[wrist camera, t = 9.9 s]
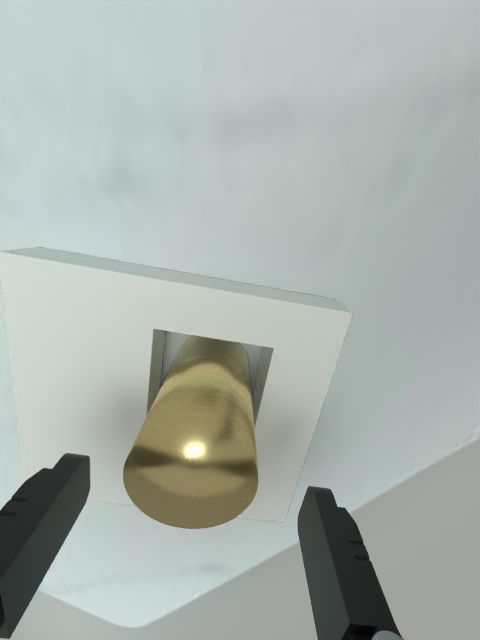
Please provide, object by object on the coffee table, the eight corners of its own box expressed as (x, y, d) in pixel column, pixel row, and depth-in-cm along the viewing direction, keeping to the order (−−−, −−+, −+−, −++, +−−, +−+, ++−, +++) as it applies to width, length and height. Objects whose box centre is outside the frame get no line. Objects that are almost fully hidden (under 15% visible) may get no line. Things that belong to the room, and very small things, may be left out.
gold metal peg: (255, 337, 18) (271, 437, 9) (241, 400, 19) (245, 534, 11) (179, 325, 18) (125, 417, 9) (172, 390, 19) (120, 520, 11)
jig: (333, 299, 17) (353, 313, 14) (278, 485, 22) (284, 522, 19) (40, 247, 16) (-3, 251, 13) (52, 456, 21) (23, 492, 18)
